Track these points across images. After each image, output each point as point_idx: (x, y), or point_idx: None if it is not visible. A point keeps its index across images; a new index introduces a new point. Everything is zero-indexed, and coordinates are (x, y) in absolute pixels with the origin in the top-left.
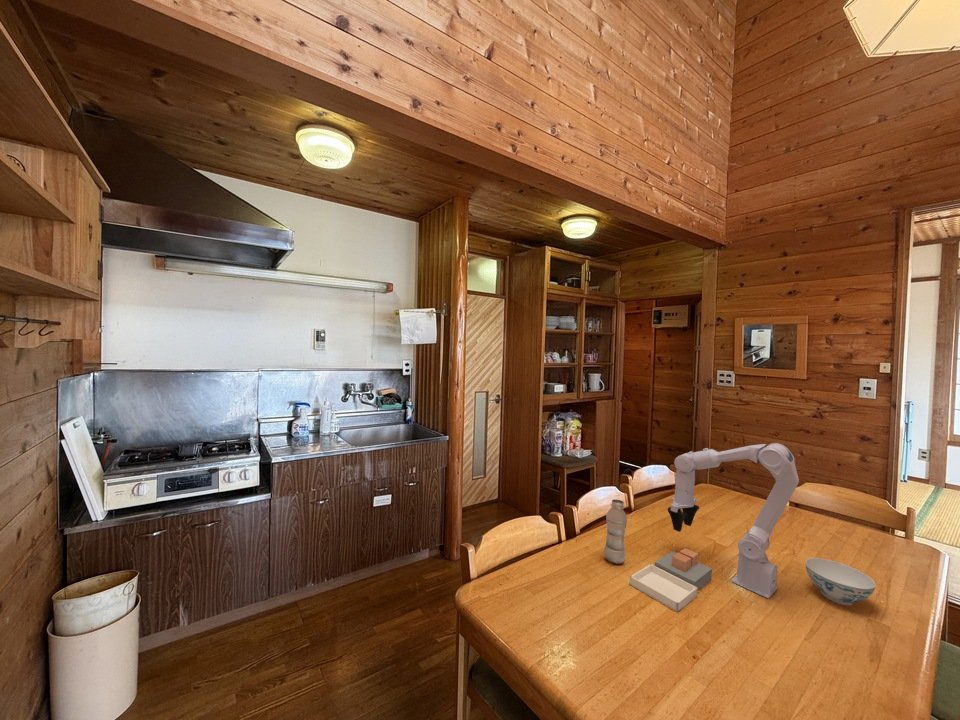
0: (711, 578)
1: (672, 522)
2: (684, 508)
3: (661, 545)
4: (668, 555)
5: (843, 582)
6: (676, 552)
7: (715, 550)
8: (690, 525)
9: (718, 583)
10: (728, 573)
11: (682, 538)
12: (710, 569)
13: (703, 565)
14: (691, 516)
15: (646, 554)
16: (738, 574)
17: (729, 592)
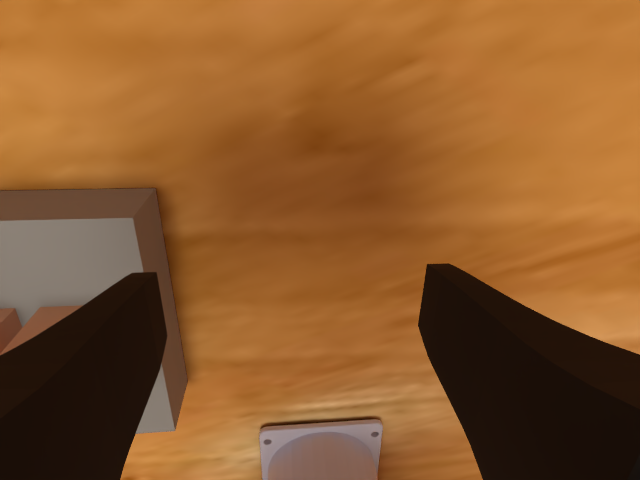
0: (186, 385)
1: (69, 319)
2: (557, 423)
3: (308, 13)
4: (19, 234)
5: None
6: (137, 243)
7: (550, 270)
8: (423, 333)
9: (189, 405)
10: (332, 392)
11: (581, 65)
12: (155, 430)
13: (157, 399)
14: (474, 431)
15: (29, 13)
16: (285, 472)
17: (164, 448)
